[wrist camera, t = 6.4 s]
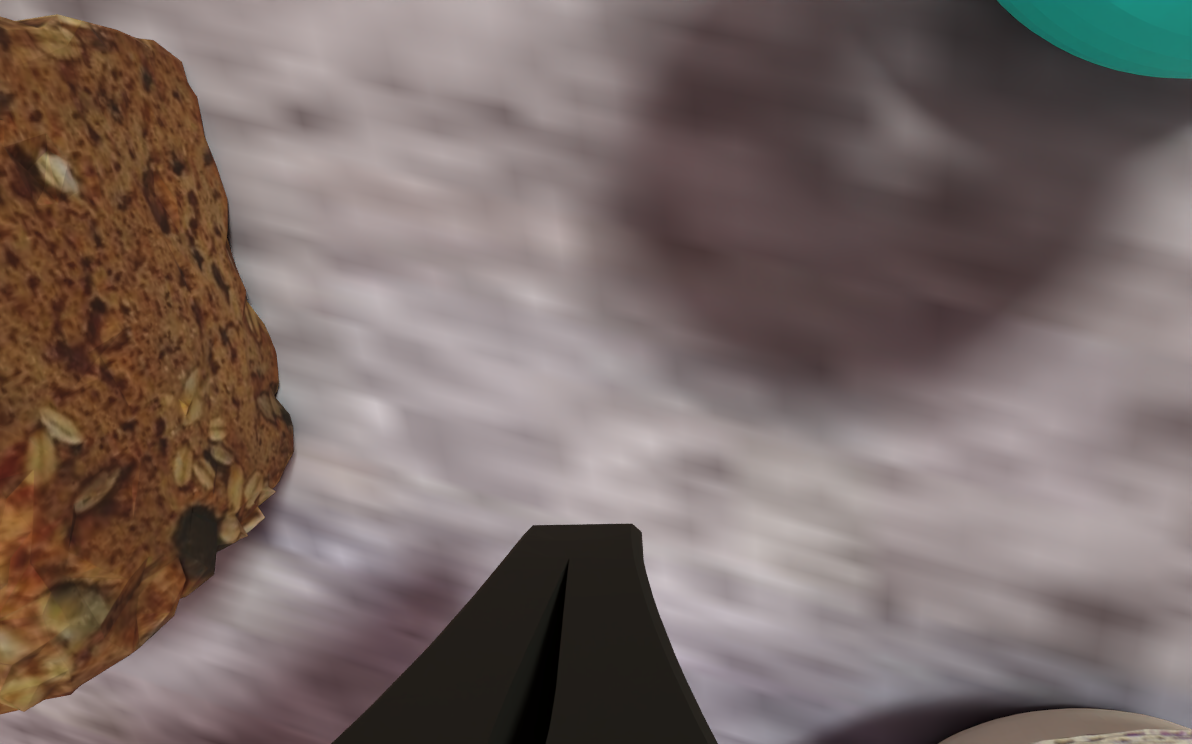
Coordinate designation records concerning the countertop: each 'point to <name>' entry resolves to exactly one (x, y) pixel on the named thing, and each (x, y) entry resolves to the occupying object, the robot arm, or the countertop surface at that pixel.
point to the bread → (116, 356)
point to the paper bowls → (1074, 729)
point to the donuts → (1115, 32)
